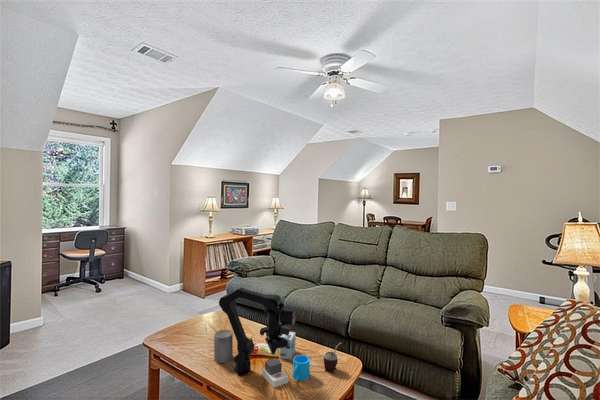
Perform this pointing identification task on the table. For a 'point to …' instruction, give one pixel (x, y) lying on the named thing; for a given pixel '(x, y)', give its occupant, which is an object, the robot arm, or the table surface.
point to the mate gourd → (330, 360)
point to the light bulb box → (288, 350)
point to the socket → (275, 378)
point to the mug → (301, 367)
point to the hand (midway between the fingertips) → (273, 354)
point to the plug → (273, 366)
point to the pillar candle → (223, 346)
